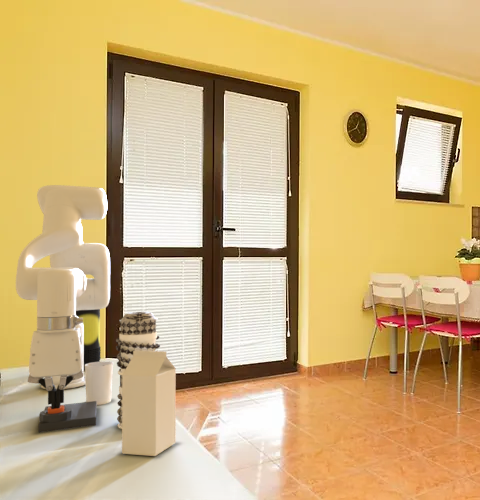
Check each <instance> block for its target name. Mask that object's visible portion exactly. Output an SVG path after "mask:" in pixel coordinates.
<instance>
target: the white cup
mask: <svg viewBox="0 0 480 500" xmlns="http://www.w3.org/2000/svg"><path fill="white" fill-rule="evenodd" d="M113 370H114V362H113V361H104V360H103V361H100V362H93V363H88V364H85V371H84V377H85V382H86V385H85V402H92V401H97V403H96V406H100V405H101V406H102V405H105V404H109V403H111V402H112V392H113V391H112V389H113V372H114V371H113Z"/></svg>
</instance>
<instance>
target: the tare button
mask: <svg viewBox="0 0 480 500" xmlns="http://www.w3.org/2000/svg"><path fill="white" fill-rule="evenodd" d="M63 405H64V404H61V405H60V408H56V407H55V408H54V409H51V407H48V414H54V413H60V412H64V406H63Z"/></svg>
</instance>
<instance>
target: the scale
mask: <svg viewBox="0 0 480 500" xmlns="http://www.w3.org/2000/svg"><path fill="white" fill-rule="evenodd" d="M96 403H97V401H92V402H86V401H84V402H83V401H82V402H75V403H67V404H62V405H63V406H64V412H60V413H54V414H48V407H51V405H48V406H45V407H44V410H41V411H40V412H39V423H38V433H46V432H53V431H54V432H55V431H62V430H70V429H77V428H78V429H79V428H86V427H92V426H96V425H97V405H96Z"/></svg>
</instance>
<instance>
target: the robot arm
mask: <svg viewBox="0 0 480 500" xmlns="http://www.w3.org/2000/svg"><path fill="white" fill-rule="evenodd" d="M36 199H37V202H38V205H39V209H40V210H41V213H42V214H43V220H42V232H41V233H40V234H39V235H37V236H36V237H34V238H33V239H31V241H30V242H29V243H27V245H26V246H25V247H24V248H23V249H22V251H21V252H20V255H19V256H18V260H17V267H16V276H15V290H16V294H17V296H18V297H19V298H21V299H22V300H24V301H25V300H26V301H36V330H33V331H32V336H31V341H30V348H29V359H28V372H29V374H28V378H27V382H28V383H29V384H37V385H38V384H39V385H40V388H41V389H44V390H46V391H47V405H48V406H51V409H54V408H55V407H56V408H60V405H62V404H64V403H65V390H67V389H74V388H79V387H82V386H86V382H85V376H84V372H85V371H84V326H83V318H79V317H78V316H76V311H78V310H95V309H100V310H103V309H106V308H107V307H108V306H109V303H110V301H111V300H110V299H111V257H110V251H109V249H108V247H107V246H106V245H105V244H103V243H98V242H84V241H83V225H82V223H81V222H82V220H90V221H91V220H92V221H100V220H101V221H102V220H103V219H104V218H106V215H107V211H108V199H107V194H106V192H105V190H104V189H103V188H102V187H96V186H81V185H65V184H63V185H62V184H50V185H49V184H48V185H43V186H41V187H39V188H38V190H37V193H36ZM46 257H49V264H50V265H49V266H50V267H33V266H34V265H35V264H36V263H37V262H39V261H40V260H42V259H44V258H46ZM86 275H87V276H88V275H89V276H92V277H93V278H87V276H86Z"/></svg>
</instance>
